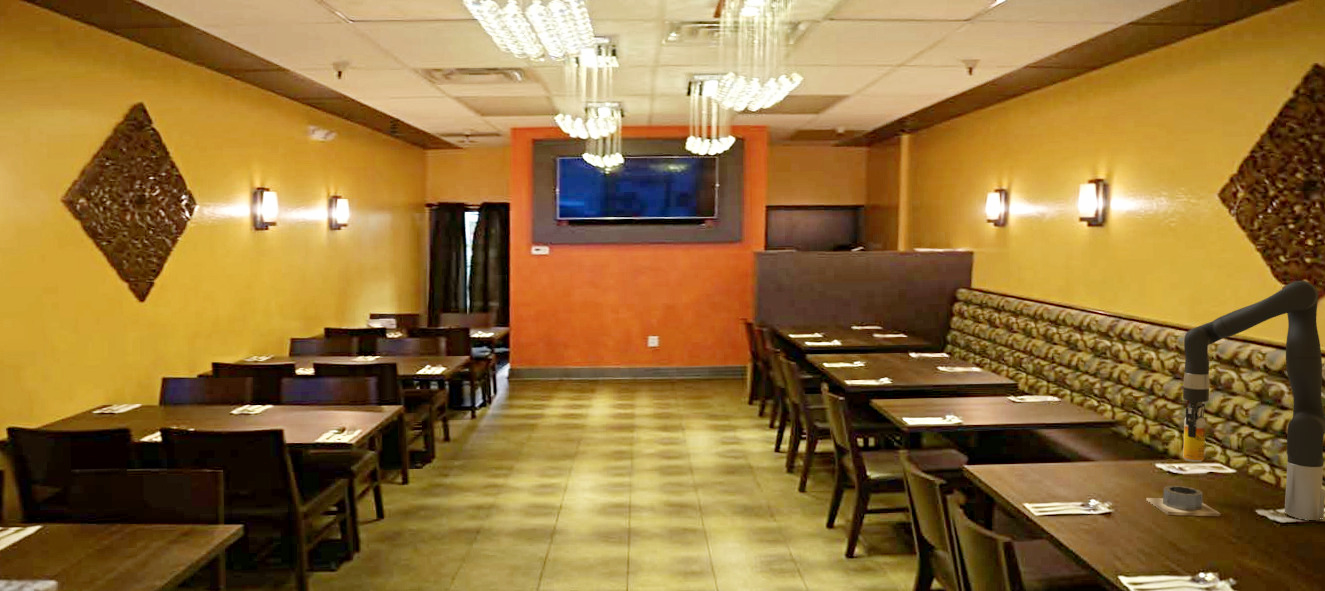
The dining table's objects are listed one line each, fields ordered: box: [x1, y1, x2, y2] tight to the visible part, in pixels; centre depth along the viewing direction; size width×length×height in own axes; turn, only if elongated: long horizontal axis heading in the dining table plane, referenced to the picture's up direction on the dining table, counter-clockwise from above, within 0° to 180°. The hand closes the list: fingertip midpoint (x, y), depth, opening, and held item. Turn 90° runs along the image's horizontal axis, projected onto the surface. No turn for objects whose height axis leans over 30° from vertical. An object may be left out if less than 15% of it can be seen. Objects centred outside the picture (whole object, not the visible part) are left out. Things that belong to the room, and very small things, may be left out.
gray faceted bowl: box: [1162, 485, 1204, 511], centre depth 290 cm, size 11×11×5 cm
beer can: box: [1182, 416, 1206, 463], centre depth 300 cm, size 6×6×15 cm
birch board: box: [1146, 497, 1221, 517], centre depth 290 cm, size 16×15×1 cm
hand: (1194, 435), depth 300 cm, fingers closed on beer can, 5 cm apart
